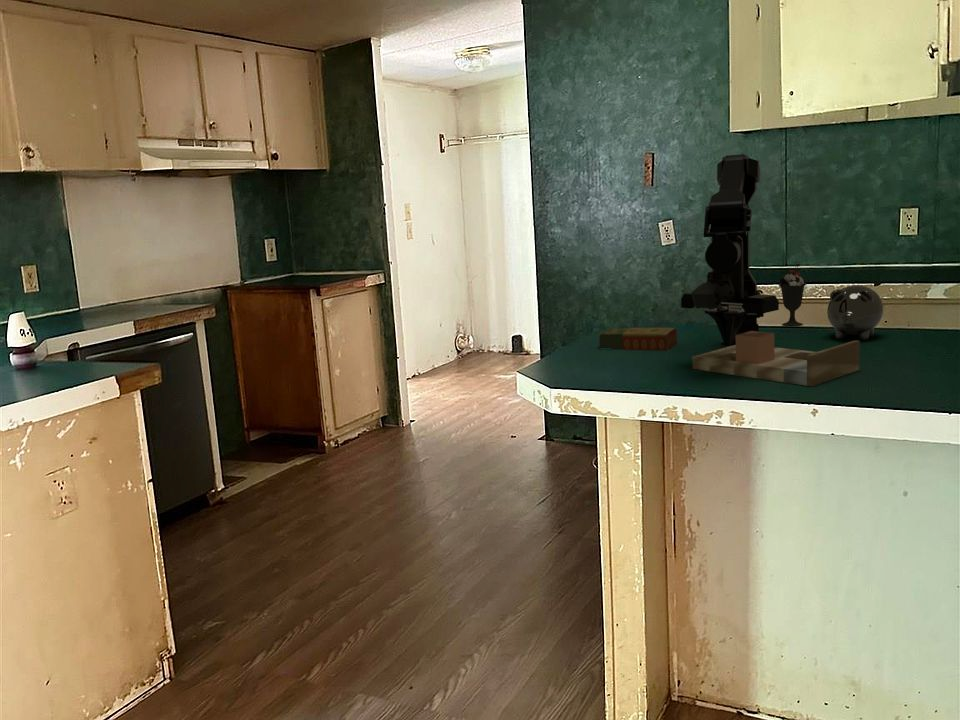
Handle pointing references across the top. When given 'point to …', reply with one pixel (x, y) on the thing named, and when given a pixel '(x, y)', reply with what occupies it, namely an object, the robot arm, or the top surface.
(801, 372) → the brown wooden compartment tray
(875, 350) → the top surface
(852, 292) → the piggy bank
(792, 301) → the sundae
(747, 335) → the block
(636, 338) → the carton
